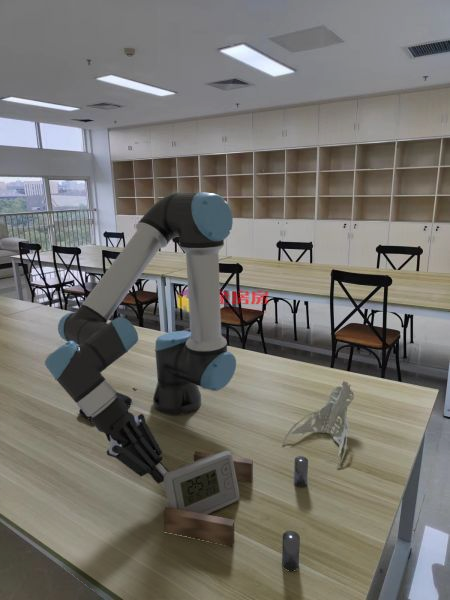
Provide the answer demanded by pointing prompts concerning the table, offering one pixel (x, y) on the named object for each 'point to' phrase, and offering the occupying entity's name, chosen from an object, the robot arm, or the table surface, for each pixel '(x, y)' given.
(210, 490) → the digital clock
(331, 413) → the skeletal model
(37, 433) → the table surface
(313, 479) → the table surface
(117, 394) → the carrying case or bag
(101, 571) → the table surface
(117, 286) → the robot arm
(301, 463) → the posts
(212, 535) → the chute
